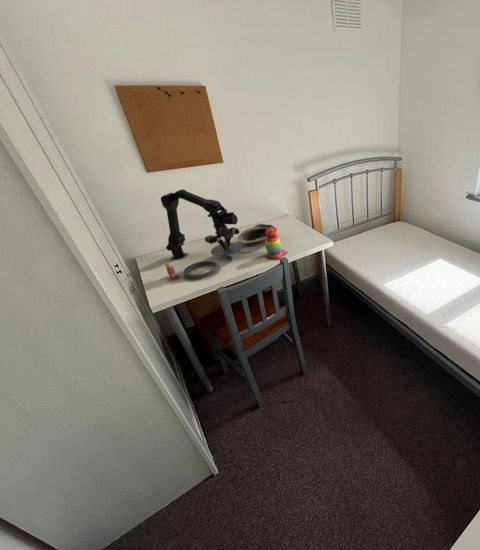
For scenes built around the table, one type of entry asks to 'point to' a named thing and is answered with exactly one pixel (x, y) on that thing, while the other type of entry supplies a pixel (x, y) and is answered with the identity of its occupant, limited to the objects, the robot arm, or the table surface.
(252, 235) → the stone bowl
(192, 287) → the table surface
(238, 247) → the lid
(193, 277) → the pan
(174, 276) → the doll
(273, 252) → the stacking bear
